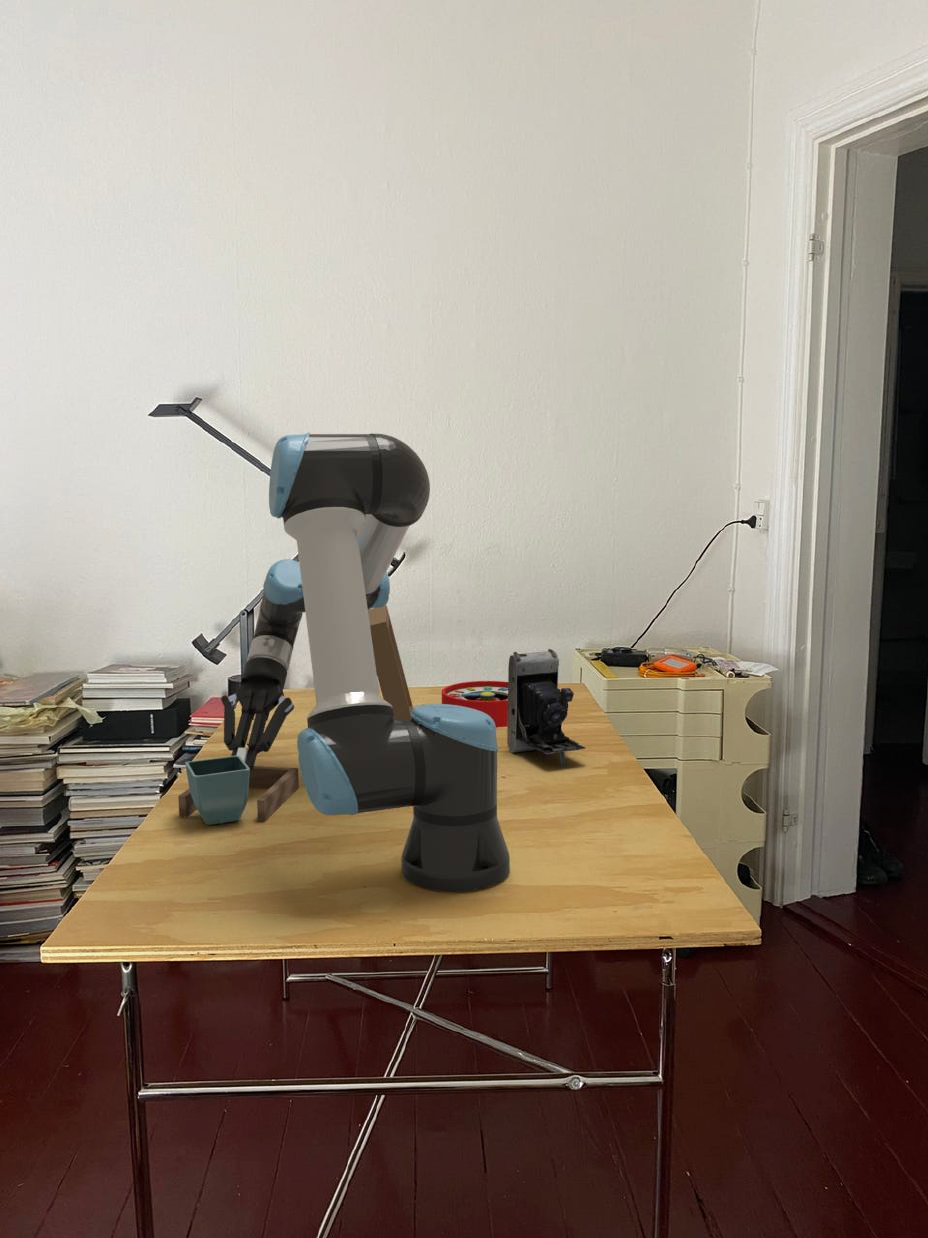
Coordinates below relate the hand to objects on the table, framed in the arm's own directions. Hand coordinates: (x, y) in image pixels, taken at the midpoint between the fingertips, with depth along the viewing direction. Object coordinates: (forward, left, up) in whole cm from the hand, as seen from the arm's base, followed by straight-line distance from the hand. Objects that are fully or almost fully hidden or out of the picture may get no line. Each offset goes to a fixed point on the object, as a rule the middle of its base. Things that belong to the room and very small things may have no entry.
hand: (236, 786), depth 176 cm
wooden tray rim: (+2, 0, -3) cm, 4 cm away
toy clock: (+65, -33, -4) cm, 72 cm away
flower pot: (-6, 0, -4) cm, 7 cm away
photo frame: (+49, -13, -4) cm, 50 cm away
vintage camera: (+35, -49, -4) cm, 60 cm away
